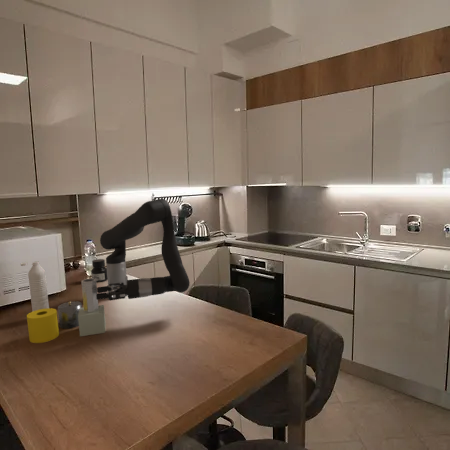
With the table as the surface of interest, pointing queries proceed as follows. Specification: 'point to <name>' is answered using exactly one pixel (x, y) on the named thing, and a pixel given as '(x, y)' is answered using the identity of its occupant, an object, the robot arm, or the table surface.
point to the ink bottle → (99, 270)
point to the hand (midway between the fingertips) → (96, 293)
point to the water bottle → (37, 286)
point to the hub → (69, 314)
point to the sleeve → (89, 295)
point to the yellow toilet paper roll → (42, 325)
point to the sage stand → (91, 322)
